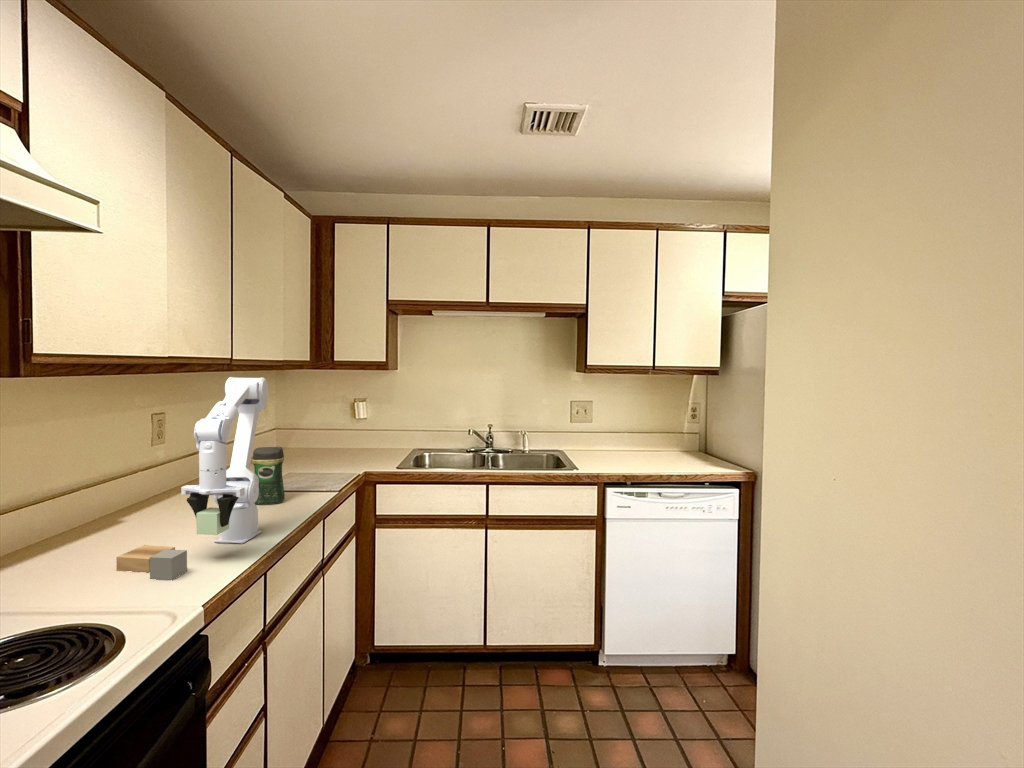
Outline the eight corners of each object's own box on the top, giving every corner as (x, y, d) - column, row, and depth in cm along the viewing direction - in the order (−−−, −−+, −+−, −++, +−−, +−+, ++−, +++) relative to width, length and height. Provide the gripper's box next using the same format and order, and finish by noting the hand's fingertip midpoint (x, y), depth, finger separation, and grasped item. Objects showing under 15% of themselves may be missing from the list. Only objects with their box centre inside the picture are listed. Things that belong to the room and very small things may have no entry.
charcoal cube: (165, 571, 124) (165, 549, 124) (187, 571, 124) (186, 550, 124) (150, 579, 119) (149, 557, 119) (172, 580, 119) (171, 558, 119)
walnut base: (144, 559, 132) (144, 545, 131) (175, 561, 131) (174, 547, 130) (116, 572, 124) (116, 556, 123) (149, 574, 123) (148, 559, 123)
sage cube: (209, 527, 134) (209, 507, 133) (229, 528, 133) (229, 508, 133) (196, 534, 129) (196, 513, 128) (217, 535, 128) (216, 514, 128)
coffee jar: (286, 498, 188) (286, 445, 187) (281, 504, 180) (281, 448, 179) (256, 499, 186) (255, 445, 185) (250, 505, 178) (249, 449, 177)
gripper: (172, 471, 127) (172, 529, 127) (232, 473, 126) (233, 531, 126) (191, 465, 134) (192, 520, 134) (249, 467, 133) (249, 522, 133)
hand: (213, 525), depth 131 cm, fingers closed on sage cube, 5 cm apart
